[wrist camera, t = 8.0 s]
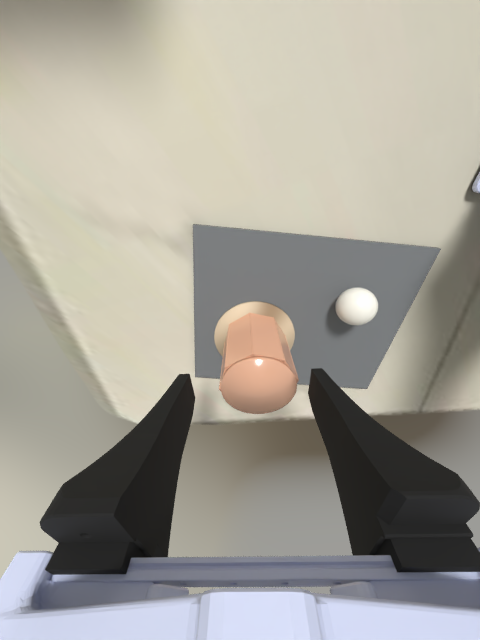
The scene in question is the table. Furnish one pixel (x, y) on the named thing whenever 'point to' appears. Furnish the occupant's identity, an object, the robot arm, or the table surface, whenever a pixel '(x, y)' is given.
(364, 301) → the ball
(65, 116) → the table surface
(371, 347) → the placemat
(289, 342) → the coaster
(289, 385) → the cup
